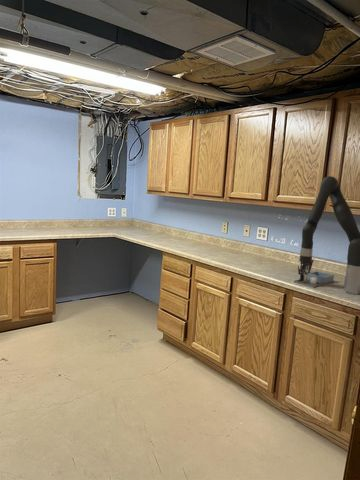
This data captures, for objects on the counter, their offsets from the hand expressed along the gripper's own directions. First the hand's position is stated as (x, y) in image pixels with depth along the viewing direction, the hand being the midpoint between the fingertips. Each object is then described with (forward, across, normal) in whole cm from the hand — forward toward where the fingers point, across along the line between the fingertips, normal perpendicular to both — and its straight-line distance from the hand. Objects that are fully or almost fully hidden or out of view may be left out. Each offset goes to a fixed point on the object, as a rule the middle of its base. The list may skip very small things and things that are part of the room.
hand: (303, 280), depth 241 cm
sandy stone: (+1, 0, 0) cm, 1 cm away
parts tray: (+2, 0, -3) cm, 4 cm away
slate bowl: (+2, +17, -3) cm, 17 cm away
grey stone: (+2, 0, -7) cm, 7 cm away
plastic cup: (+2, +28, +14) cm, 31 cm away
